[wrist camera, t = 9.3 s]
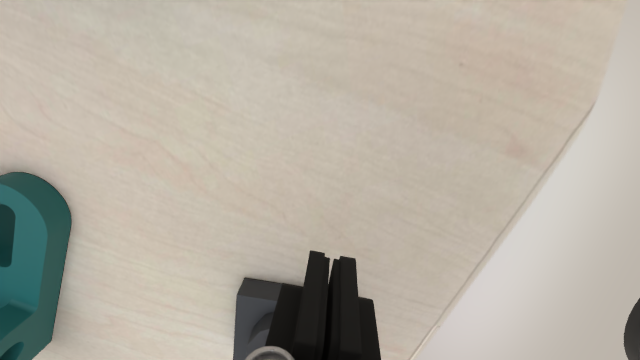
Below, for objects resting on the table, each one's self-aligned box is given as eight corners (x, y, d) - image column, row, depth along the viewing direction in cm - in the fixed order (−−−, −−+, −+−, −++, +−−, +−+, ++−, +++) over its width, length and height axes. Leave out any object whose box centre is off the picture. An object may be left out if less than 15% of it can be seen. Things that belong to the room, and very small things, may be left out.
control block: (358, 295, 27) (360, 332, 23) (343, 362, 30) (343, 405, 26) (244, 277, 27) (228, 311, 23) (240, 345, 30) (225, 385, 26)
